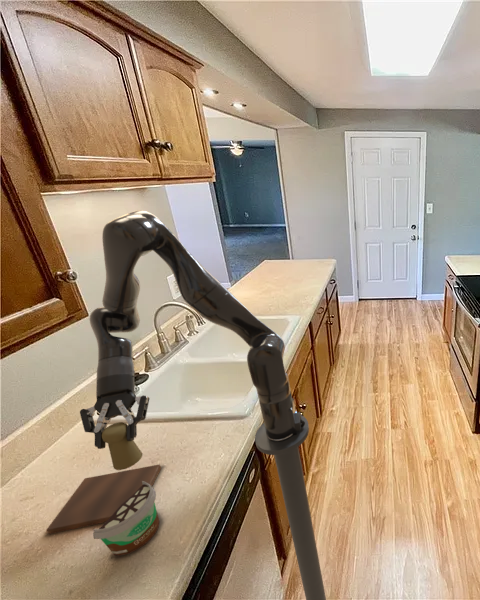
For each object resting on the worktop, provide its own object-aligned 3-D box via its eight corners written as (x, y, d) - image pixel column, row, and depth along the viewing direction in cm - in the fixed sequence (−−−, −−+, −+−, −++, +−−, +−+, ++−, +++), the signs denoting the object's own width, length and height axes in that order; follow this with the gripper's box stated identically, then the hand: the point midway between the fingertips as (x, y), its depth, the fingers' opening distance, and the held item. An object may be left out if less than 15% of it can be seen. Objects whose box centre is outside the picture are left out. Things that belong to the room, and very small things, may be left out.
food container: (132, 568, 69) (115, 537, 65) (107, 562, 70) (90, 532, 66) (178, 511, 80) (166, 482, 77) (156, 507, 81) (144, 478, 78)
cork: (141, 446, 89) (127, 414, 85) (144, 460, 85) (129, 427, 81) (112, 459, 85) (96, 426, 81) (114, 474, 81) (97, 440, 77)
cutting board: (161, 468, 92) (160, 464, 92) (137, 515, 80) (135, 511, 79) (86, 482, 89) (84, 478, 88) (48, 534, 76) (46, 530, 75)
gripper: (72, 381, 80) (69, 454, 75) (142, 367, 86) (145, 434, 80) (89, 387, 87) (88, 454, 81) (153, 373, 92) (156, 436, 87)
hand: (116, 444), depth 81 cm, fingers closed on cork, 5 cm apart
